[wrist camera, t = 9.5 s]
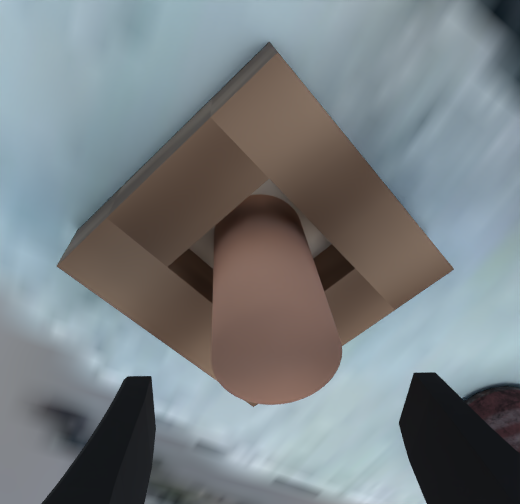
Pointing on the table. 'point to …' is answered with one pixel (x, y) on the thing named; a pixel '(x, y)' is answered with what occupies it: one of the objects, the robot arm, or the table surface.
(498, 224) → the table surface
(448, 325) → the table surface
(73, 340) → the table surface
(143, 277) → the socket block
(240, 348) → the peg
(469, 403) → the can
